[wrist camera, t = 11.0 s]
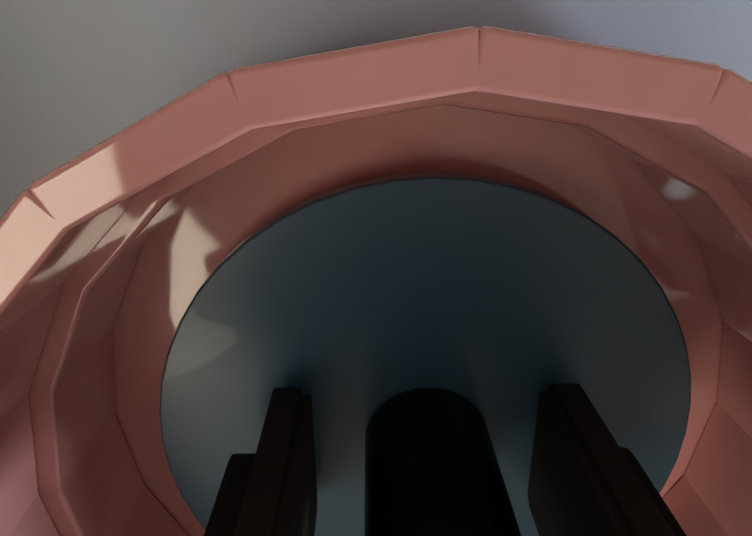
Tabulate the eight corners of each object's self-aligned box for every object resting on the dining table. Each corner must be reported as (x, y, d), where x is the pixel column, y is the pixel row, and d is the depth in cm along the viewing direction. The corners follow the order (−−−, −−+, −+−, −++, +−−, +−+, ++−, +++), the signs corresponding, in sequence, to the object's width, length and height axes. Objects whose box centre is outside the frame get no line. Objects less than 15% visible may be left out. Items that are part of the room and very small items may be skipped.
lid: (207, 584, 15) (109, 918, 9) (136, 167, 11) (-125, 305, 5) (623, 575, 15) (780, 899, 9) (715, 161, 11) (1100, 289, 5)
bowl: (-50, 399, 13) (-315, 625, 8) (429, -172, 9) (507, -445, 4) (408, 689, 17) (426, 957, 12) (871, 385, 13) (1182, 595, 8)
